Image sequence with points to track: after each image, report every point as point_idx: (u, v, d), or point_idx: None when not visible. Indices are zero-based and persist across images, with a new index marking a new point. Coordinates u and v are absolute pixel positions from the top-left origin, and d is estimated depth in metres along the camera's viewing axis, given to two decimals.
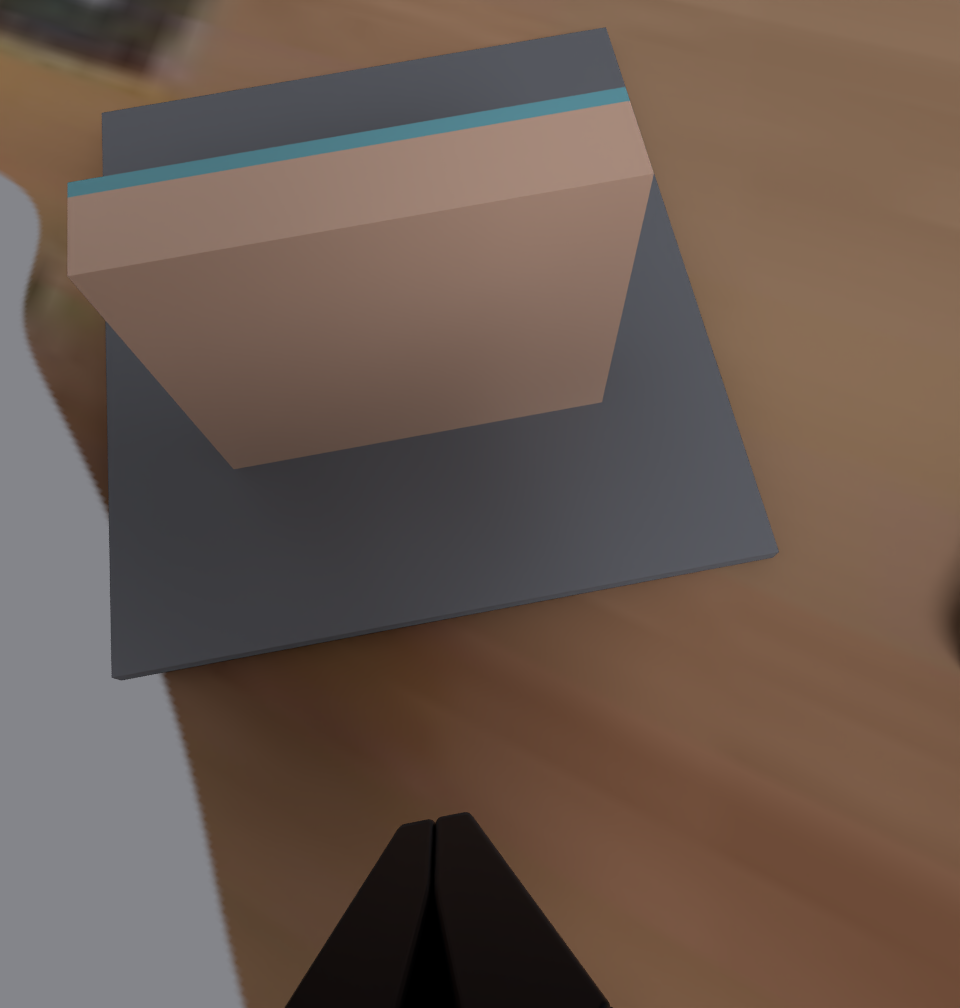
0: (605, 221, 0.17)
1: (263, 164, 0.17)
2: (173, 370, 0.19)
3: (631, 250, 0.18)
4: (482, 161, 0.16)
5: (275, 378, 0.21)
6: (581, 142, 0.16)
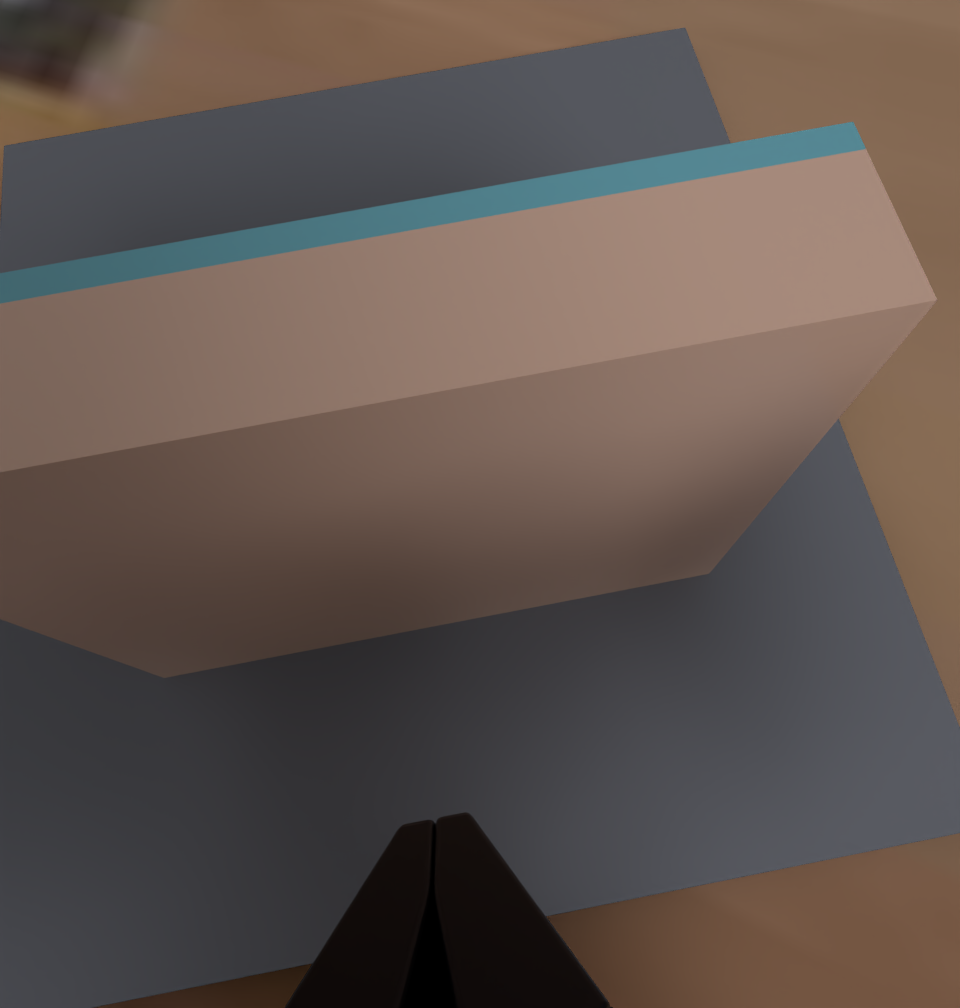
0: (810, 376, 0.09)
1: (149, 278, 0.08)
2: (24, 606, 0.11)
3: (835, 413, 0.10)
4: (583, 272, 0.08)
5: (208, 598, 0.12)
6: (780, 233, 0.08)
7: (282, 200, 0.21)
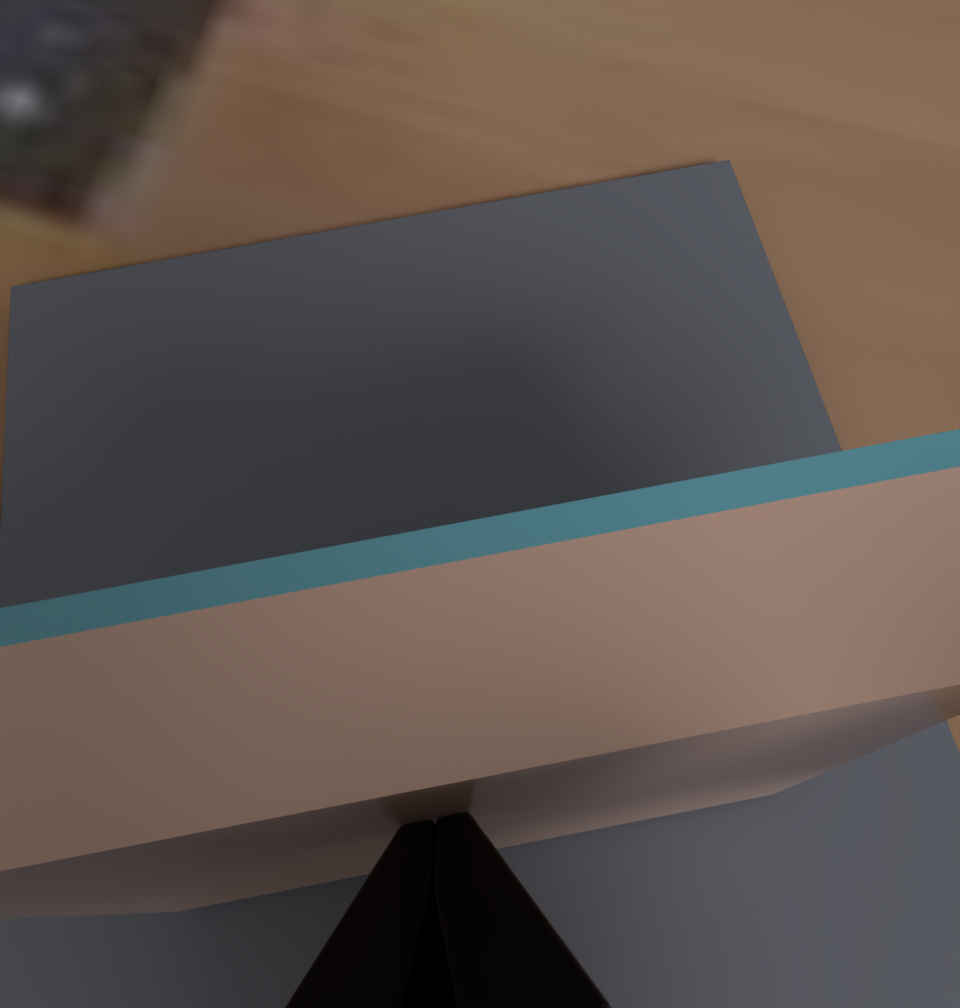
0: (927, 708, 0.08)
1: (185, 614, 0.08)
2: (28, 911, 0.10)
3: (945, 717, 0.09)
4: (673, 615, 0.07)
5: (232, 879, 0.11)
6: (894, 568, 0.07)
7: (306, 352, 0.20)
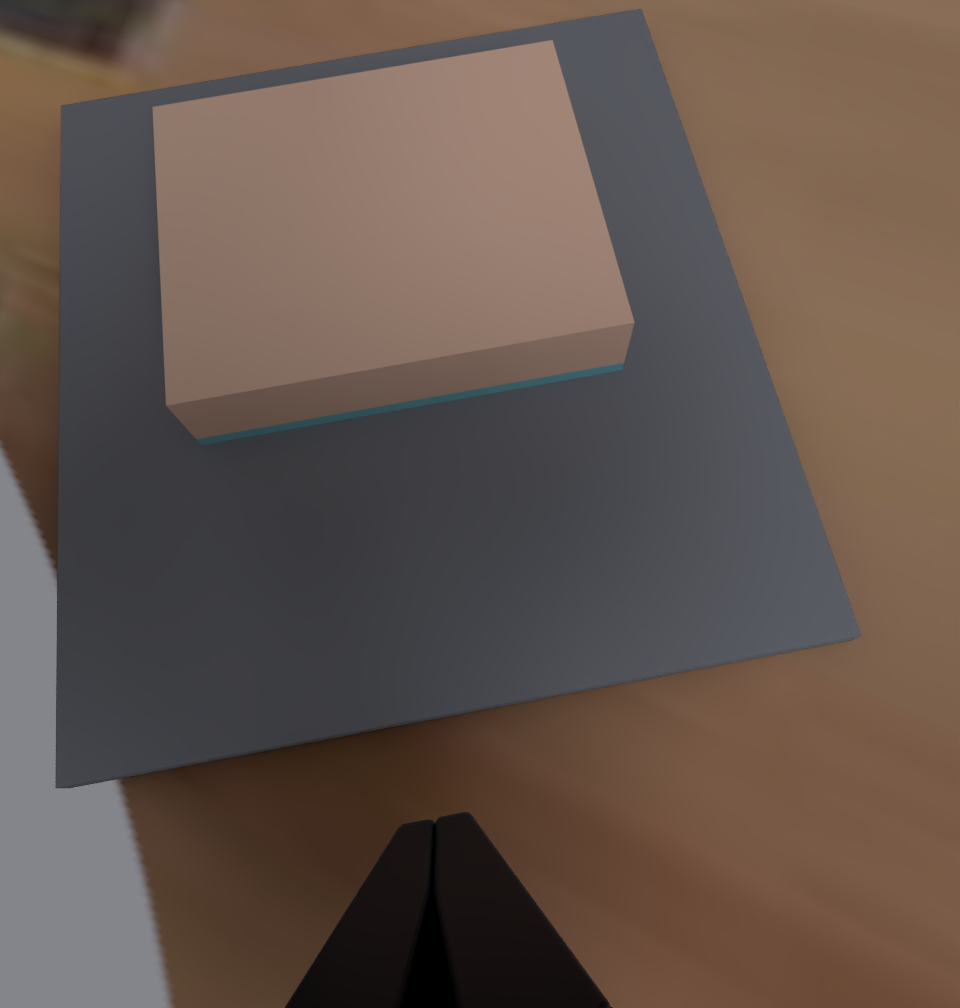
0: (531, 74, 0.23)
1: None
2: (176, 210, 0.22)
3: (565, 100, 0.23)
4: None
5: (258, 231, 0.21)
6: None
7: None
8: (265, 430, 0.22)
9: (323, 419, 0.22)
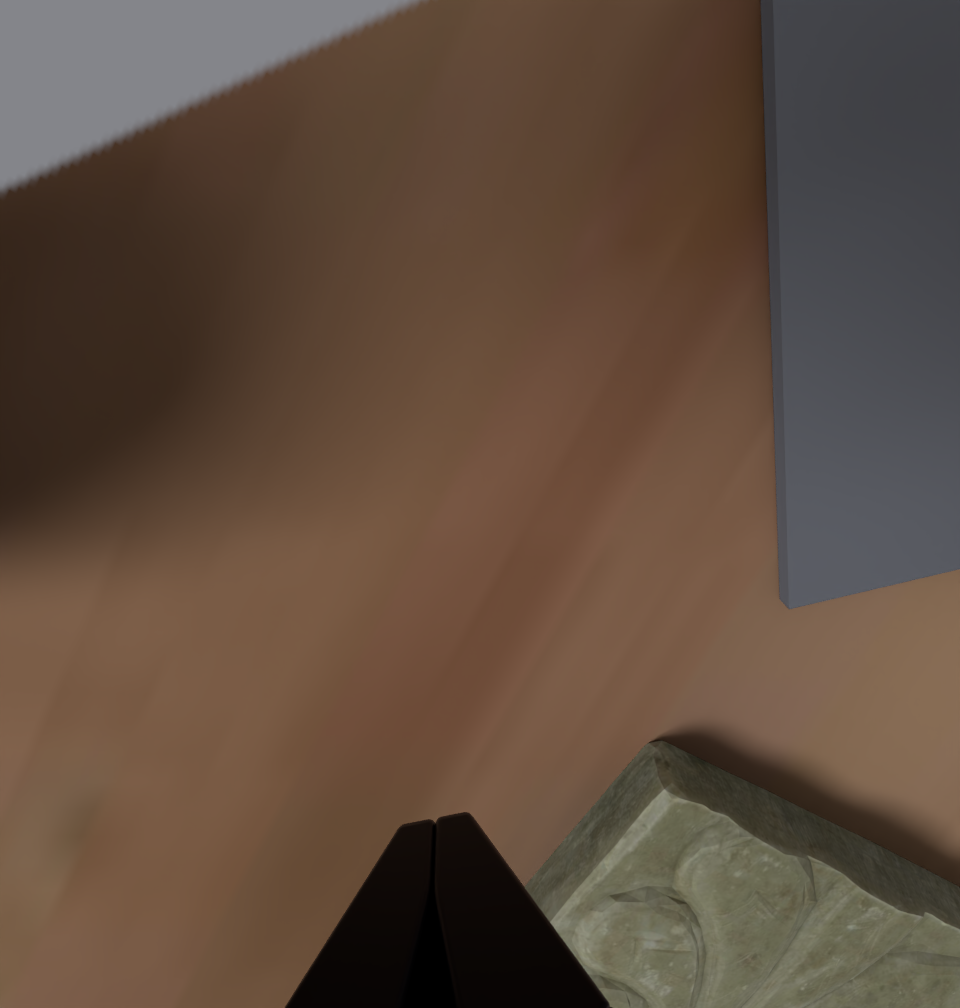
0: None
1: None
2: None
3: None
4: None
5: None
6: None
7: None
8: None
9: None
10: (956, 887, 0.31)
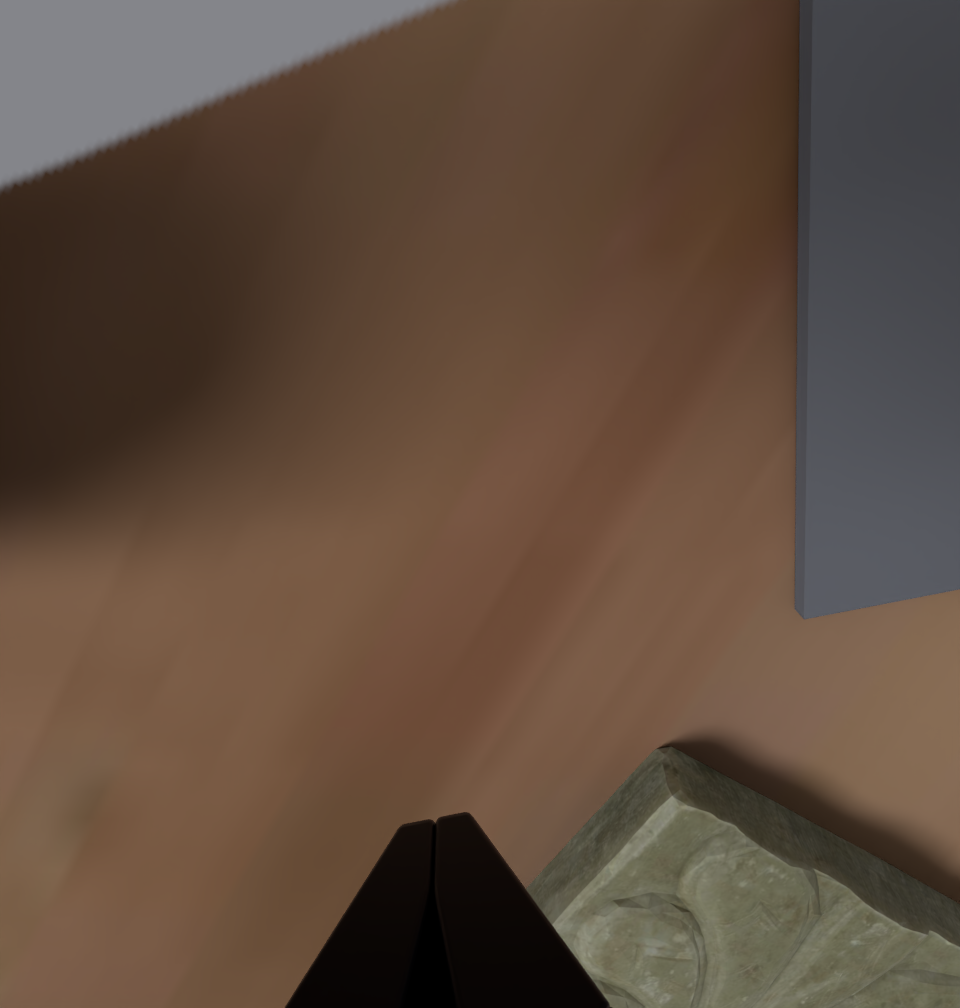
0: None
1: None
2: None
3: None
4: None
5: None
6: None
7: None
8: None
9: None
10: None
